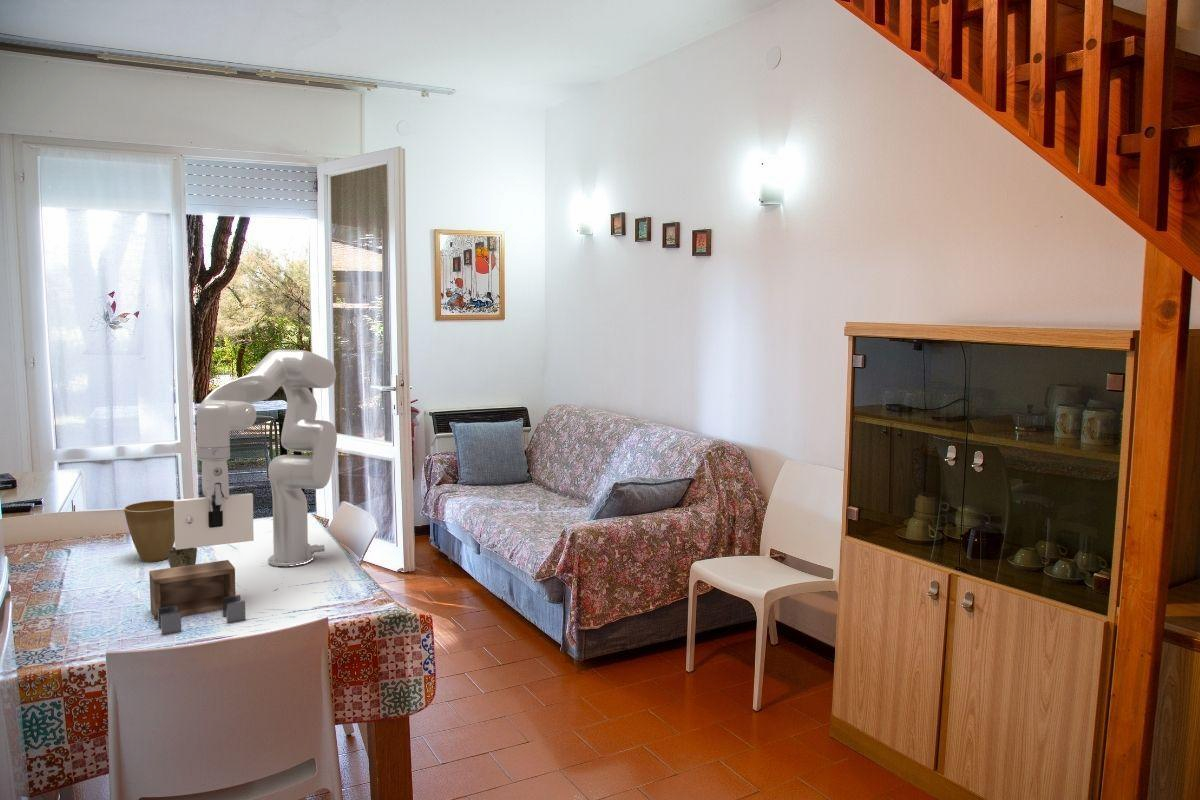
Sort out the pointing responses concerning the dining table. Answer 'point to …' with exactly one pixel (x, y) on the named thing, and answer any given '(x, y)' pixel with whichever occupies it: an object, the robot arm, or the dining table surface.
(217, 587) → the cabinet body
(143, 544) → the plant pot
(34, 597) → the dining table surface
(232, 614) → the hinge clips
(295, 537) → the robot arm
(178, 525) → the cabinet door
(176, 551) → the dark textured ornament
